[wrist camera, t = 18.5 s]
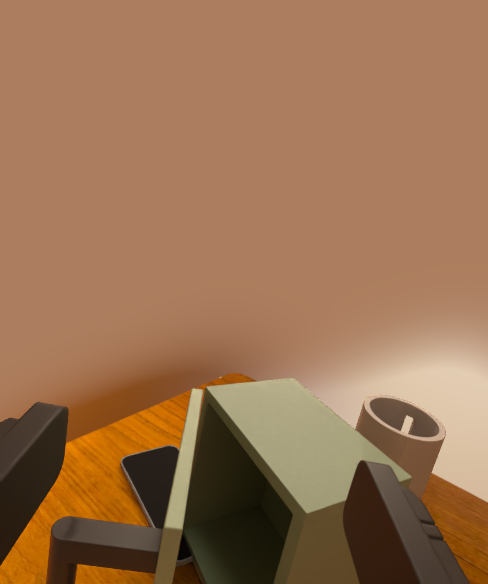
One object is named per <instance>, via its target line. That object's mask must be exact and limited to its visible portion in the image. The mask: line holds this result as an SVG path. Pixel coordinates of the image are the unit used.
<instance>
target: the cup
mask: <svg viewBox="0 0 488 584" xmlns="http://www.w3.org/2000/svg"><path fill="white" fill-rule="evenodd" d="M406 415H408V416H410V417H412V418H413V422H412V425H411V428H410V431H409V433H408V434H407V433H404V432H401V429H402V426H403V423H404V419H405V417H406ZM355 430H356V431H357V432H359V433H360V434H361V435H362V436H363V437H365V438H366V439H367V440H368V441H369V442H371V443H372V444H373V445H374V446H375V447H377V448H378V449H379V450H380V451H381V452H383V453H384V454H385V455H386V456H387V457H389V458H390V459H391V460H392V461H393V462H395V463H396V464H397V465H398V466H399V467H401V468H402V469H403V470H404V471H405V472H407V473H408V474H409V475H410V476H411V477H412V480H411V483H410V485H409V489H410V490H411V491H412V492H413V493H414V494H415V495H416V497H417V498H418V499H419V500H420V501H421V499H422V496H423V493H424V491H425V488H426V485H427V483H428V480H429V478H430V475H431V472H432V470H433V467H434V464H435V462H436V459H437V457H438V454H439V451H440V448H441V446H442V443H443V441H444V438H445V436H446V431H445V428H444V426H443V425H442V423H441V422H440V421H439V420H438V419H437V418H435V417H434V416H433V415H432V414H430V413H429V412H427V411H426V410H424V409H423V408H421V407H419V406H417V405H415V404H413V403H411V402H408V401H406V400H403V399H400V398H396V397H392V396H387V395H372V396H369V397H367V398H366V399H365V401H364V403H363V406H362V410H361V413H360V416H359V419H358V423H357V426H356V429H355Z"/></svg>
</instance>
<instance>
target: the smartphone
mask: <svg viewBox="0 0 488 584" xmlns="http://www.w3.org/2000/svg"><path fill="white" fill-rule="evenodd" d="M178 455H179V449H178V448H177V447H175V446H172V445H167V446H163V447H159V448H155V449H151V450H147V451H143V452H139V453H136V454H132V455H128V456H125V457H124V458H123V459H122V460H121V468H122V470H123V472H124V474H125V476H126V478H127V480H128V482H129V484H130V486H131V488H132V490H133V492H134V494H135V496H136V498H137V501H138V503H139V505H140V507H141V509H142V511H143V513H144V515H145V517H146V519H147V521H148V523H149V525H150V527H152V528H160V529H163V528H164V523H165V518H166V513H167V509H168V504H169V499H170V494H171V489H172V484H173V479H174V474H175V469H176V464H177V459H178ZM190 562H192V555H191V552H190V550H189V548H188V545H187V543H186V541H185V539H184V536H183V534H182V536H181V541H180V546H179V551H178V556H177V561H176V566H177V567H180V566H184V565H186V564H188V563H190Z"/></svg>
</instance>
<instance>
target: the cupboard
mask: <svg viewBox="0 0 488 584" xmlns="http://www.w3.org/2000/svg"><path fill="white" fill-rule="evenodd" d="M361 460H365V461H370V462H376V463H382V464H387V465H390V466H391V467H392V469H393V471H394V473H395V474H396V476H397V478H398V480H399V482H400V484H401V486H402V487H405V488H409V485H410V483H411V480H412V477H411V476H410V475H409V474H408V473H407V472H405V471H404V470H403V469H402V468H401V467H399V466H398V465H397V464H396V463H395V462H393V461H392V460H391V459H390V458H389V457H387V456H386V455H385V454H384V453H383V452H381V451H380V450H379V449H378V448H377V447H375V446H374V445H373V444H372V443H371V442H369V441H368V440H367V439H366V438H365V437H363V436H362V435H361V434H360V433H359V432H357V431H356V430H355V429H354V428H352V427H351V426H350V425H349V424H348V423H347V422H346V421H344V420H343V419H342V418H341V417H340V416H338V415H337V414H336V413H335V412H334V411H332V410H331V409H330V408H329V407H328V406H326V405H325V404H324V403H323V402H322V401H320V400H319V399H318V398H317V397H316V396H314V395H313V394H312V393H311V392H310V391H308V390H307V389H306V388H305V387H303V386H302V385H301V384H300V383H299V382H298V381H296V380H295V379H294V378H288V379H278V380H268V381H258V382H248V383H238V384H228V385H217V386H207V387H206V389H205V394H204V399H203V404H202V409H201V414H200V420H199V425H198V430H197V436H196V443H195V450H194V456H193V463H192V470H191V477H190V484H189V491H188V497H187V504H186V511H185V518H184V525H183V531H182V534H183V536H184V539H185V541H186V543H187V545H188V548H189V550H190V552H191V555H192V563H193V565H194V568H195V570H196V572H197V575H198V577H199V579H200V582H201V584H360V583H359V580H358V576H357V573H356V569H355V566H354V563H353V559H352V556H351V552H350V549H349V546H348V542H347V539H346V535H345V532H344V527H343V510H344V505H345V502H346V498H347V495H348V492H349V489H350V486H351V483H352V480H353V477H354V474H355V470H356V467H357V465H358V463H359V462H360V461H361Z"/></svg>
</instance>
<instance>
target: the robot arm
mask: <svg viewBox="0 0 488 584" xmlns="http://www.w3.org/2000/svg"><path fill="white" fill-rule="evenodd" d="M67 424H68V408H67V407H64V406H57V405H53V404H47V403H41V402H37V403H35V404H34V405H33V406H32V407H31V408H30V409H29V410H28V411H27V412H26V413H25V414H24V415H23V416H22V417H21V418H20V419H14V418H8V419H6V420H4V421H3V422H0V565H1V564H2V562H3V561H4V559H5V558H6V556H7V555H8V553H9V552H10V550H11V549H12V547H13V546H14V544H15V542H16V541H17V539H18V538H19V536H20V535H21V533H22V532H23V530H24V529H25V527H26V526H27V524H28V523H29V521H30V520H31V518H32V517H33V515H34V513H35V512H36V510H37V509H38V507H39V506H40V504H41V503H42V501H43V500H44V498H45V497H46V495H47V494H48V492H49V491H50V489H51V488H52V486H53V484H54V483H55V481H56V479H57V478H58V475H59V473H60V470H61V468H62V464H63V461H64V455H65V445H66V434H67ZM343 527H344V532H345V535H346V539H347V542H348V546H349V549H350V552H351V556H352V559H353V563H354V566H355V569H356V573H357V576H358V580H359V583H360V584H470V583H469V581H468V579H467V578H466V576H465V574H464V572H463V571H462V569H461V567H460V566H459V564H458V562H457V560H456V559H455V557H454V555H453V553H452V552H451V550H450V548H449V546H448V545H447V543H446V542H444V540H443V536H442V534H441V533H440V531H439V529H438V527H437V526H435V522H434V520H433V519H432V517H431V515H430V513H429V512H428V510H427V508H426V506H425V505H424V504H423V503H422V502H421V501H420V500H419V499H418V498H417V497H416V495H415V494H414V493H413V492H412V491H411V490H410V489H409V488H405V487H402V486H401V484H400V482H399V480H398V478H397V476H396V474H395V473H394V471H393V469H392V467H391V466H390V465H387V464H382V463H376V462H370V461H365V460H361V461H360V462H359V463H358V465H357V467H356V470H355V474H354V477H353V480H352V483H351V486H350V489H349V492H348V495H347V498H346V502H345V505H344V510H343Z"/></svg>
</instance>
